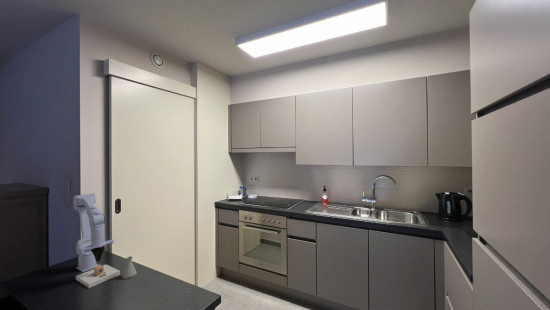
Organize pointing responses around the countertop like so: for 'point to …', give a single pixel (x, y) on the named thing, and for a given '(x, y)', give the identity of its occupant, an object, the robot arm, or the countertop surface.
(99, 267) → the plug
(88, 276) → the socket
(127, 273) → the flask
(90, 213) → the robot arm
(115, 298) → the countertop surface
